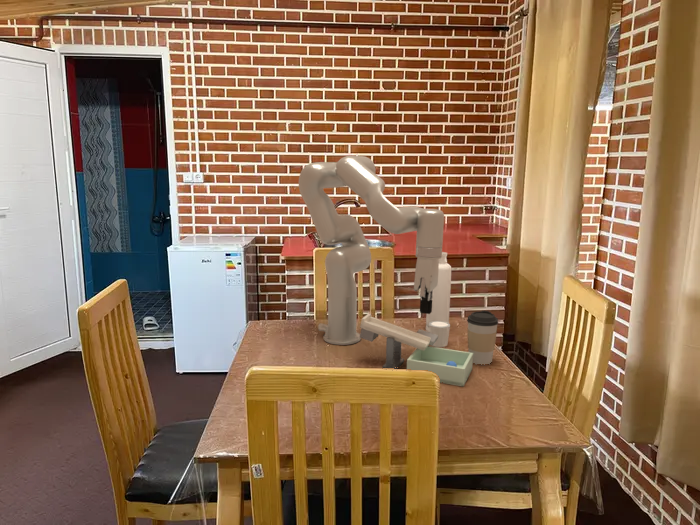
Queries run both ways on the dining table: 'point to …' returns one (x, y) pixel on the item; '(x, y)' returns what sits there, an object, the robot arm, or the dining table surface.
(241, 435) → the dining table surface
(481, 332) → the coffee cup
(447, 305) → the bottle
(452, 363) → the ball
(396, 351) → the lever stand
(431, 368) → the bin
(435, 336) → the lever
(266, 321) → the dining table surface
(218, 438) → the dining table surface
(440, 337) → the shot glass
